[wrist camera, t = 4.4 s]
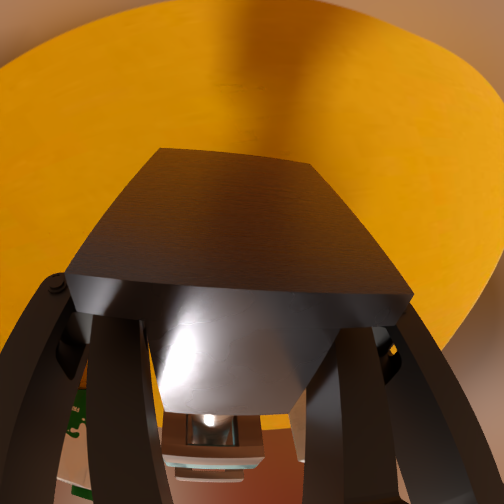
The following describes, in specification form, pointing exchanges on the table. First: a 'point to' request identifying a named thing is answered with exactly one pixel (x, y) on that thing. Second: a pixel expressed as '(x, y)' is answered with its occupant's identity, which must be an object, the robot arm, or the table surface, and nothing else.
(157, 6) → the table surface
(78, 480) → the milk carton
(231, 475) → the bearing stand
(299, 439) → the skincare box
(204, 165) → the shaft
